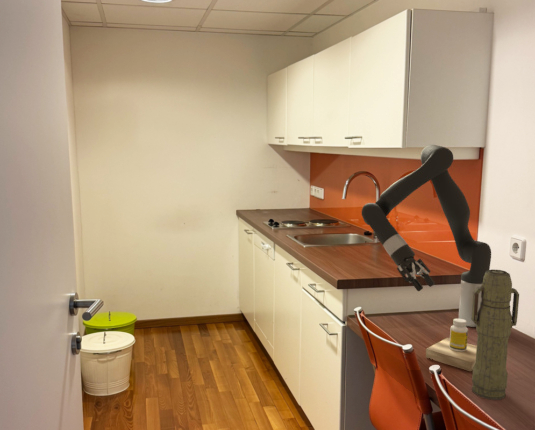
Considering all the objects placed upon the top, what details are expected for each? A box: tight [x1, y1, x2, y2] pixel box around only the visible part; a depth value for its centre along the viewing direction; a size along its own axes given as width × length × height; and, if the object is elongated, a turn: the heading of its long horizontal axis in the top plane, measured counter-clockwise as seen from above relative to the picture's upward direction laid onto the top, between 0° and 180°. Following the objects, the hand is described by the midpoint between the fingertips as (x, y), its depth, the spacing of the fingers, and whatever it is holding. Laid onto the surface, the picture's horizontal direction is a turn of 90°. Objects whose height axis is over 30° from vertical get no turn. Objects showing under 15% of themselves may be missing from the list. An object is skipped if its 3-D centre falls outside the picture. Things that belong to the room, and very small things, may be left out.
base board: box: [425, 337, 477, 372], centre depth 172 cm, size 15×15×3 cm
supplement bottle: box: [449, 318, 469, 352], centre depth 171 cm, size 5×5×10 cm
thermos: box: [471, 269, 520, 401], centre depth 145 cm, size 9×12×35 cm
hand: (426, 287), depth 179 cm, fingers open, 8 cm apart
